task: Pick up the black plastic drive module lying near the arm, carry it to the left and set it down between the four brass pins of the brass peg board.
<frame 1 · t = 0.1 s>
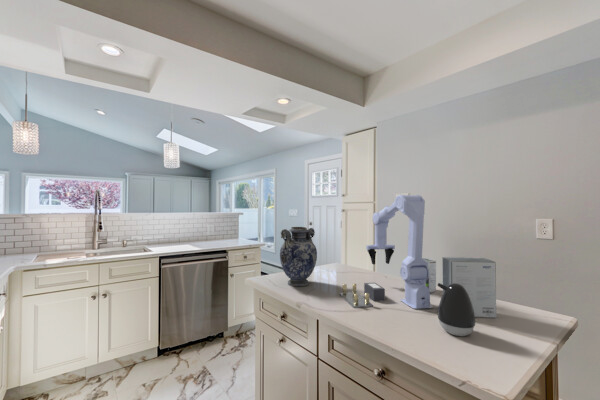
hand: (380, 263, 136), 10 cm above the worktop, fingers open, 7 cm apart
brass peg board: (355, 300, 112), on the worktop
drive: (374, 297, 116), on the worktop
hard drive box: (468, 313, 100), on the worktop
pump dispenser: (455, 332, 85), on the worktop
decorative vase: (298, 283, 135), on the worktop
syrup box: (426, 290, 126), on the worktop
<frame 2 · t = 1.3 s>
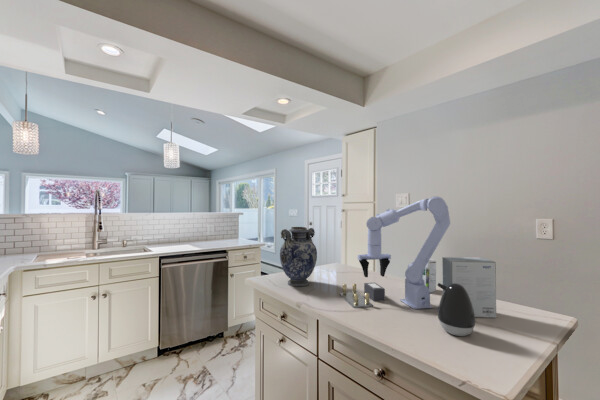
hand: (374, 276, 116), 9 cm above the worktop, fingers open, 7 cm apart
nothing on the worktop moved.
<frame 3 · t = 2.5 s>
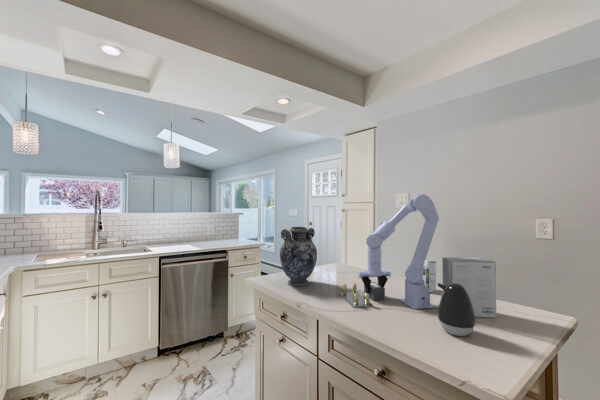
hand: (374, 293, 116), 1 cm above the worktop, fingers closed on drive, 5 cm apart
drive: (374, 297, 116), on the worktop, touching gripper
everything else where it was.
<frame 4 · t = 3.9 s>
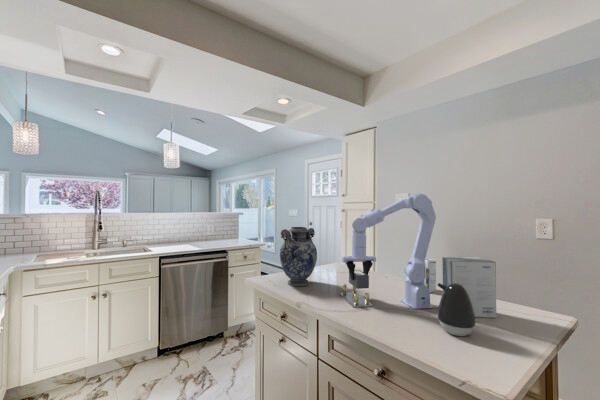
hand: (358, 279, 113), 9 cm above the worktop, fingers closed on drive, 5 cm apart
drive: (358, 285, 113), point 6 cm above the worktop, touching gripper
everything else where it was.
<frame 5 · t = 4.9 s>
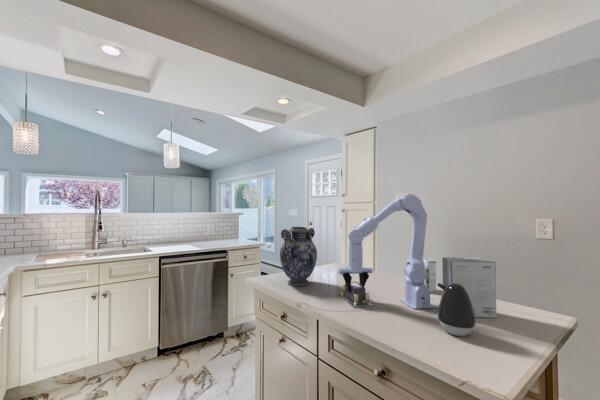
hand: (355, 290, 112), 4 cm above the worktop, fingers closed on drive, 5 cm apart
drive: (355, 297, 112), point 1 cm above the worktop, touching gripper
everything else where it was.
when the fingers open (3 cm above the worktop, at t = 5.6 s): drive stays where it is, resting on brass peg board.
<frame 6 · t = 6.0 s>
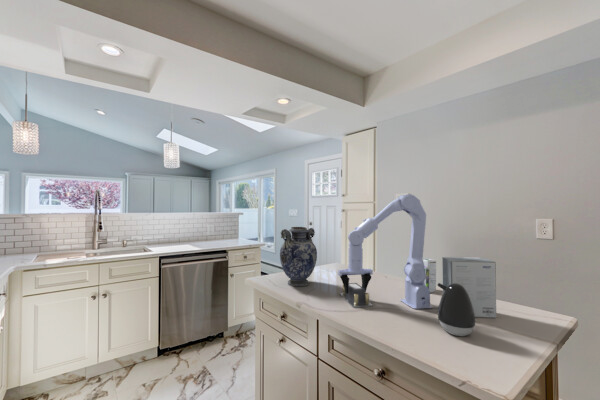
hand: (355, 292, 112), 3 cm above the worktop, fingers open, 7 cm apart
drive: (355, 298, 112), point 1 cm above the worktop, touching brass peg board
everything else where it was.
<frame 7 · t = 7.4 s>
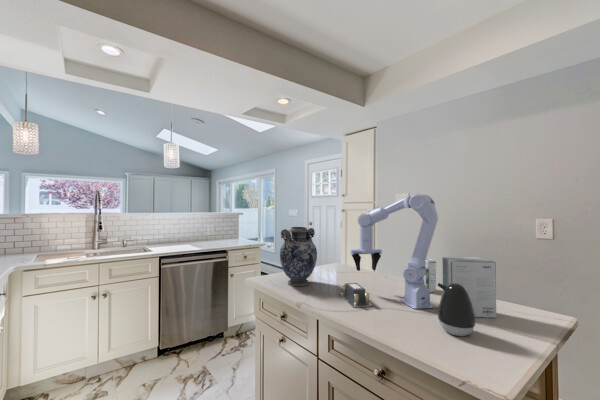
hand: (366, 270, 123), 10 cm above the worktop, fingers open, 7 cm apart
nothing on the worktop moved.
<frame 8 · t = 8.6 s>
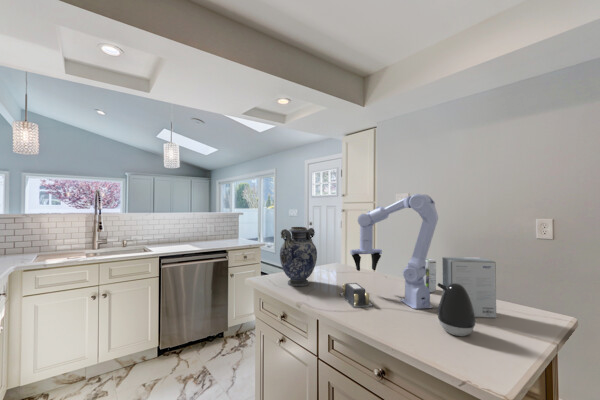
hand: (366, 270, 123), 10 cm above the worktop, fingers open, 7 cm apart
nothing on the worktop moved.
at the end: drive 0.2 cm off-centre on the brass peg board, point 0.6 cm above the brass peg board's base; drive tilted 0°; the gripper is holding nothing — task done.
